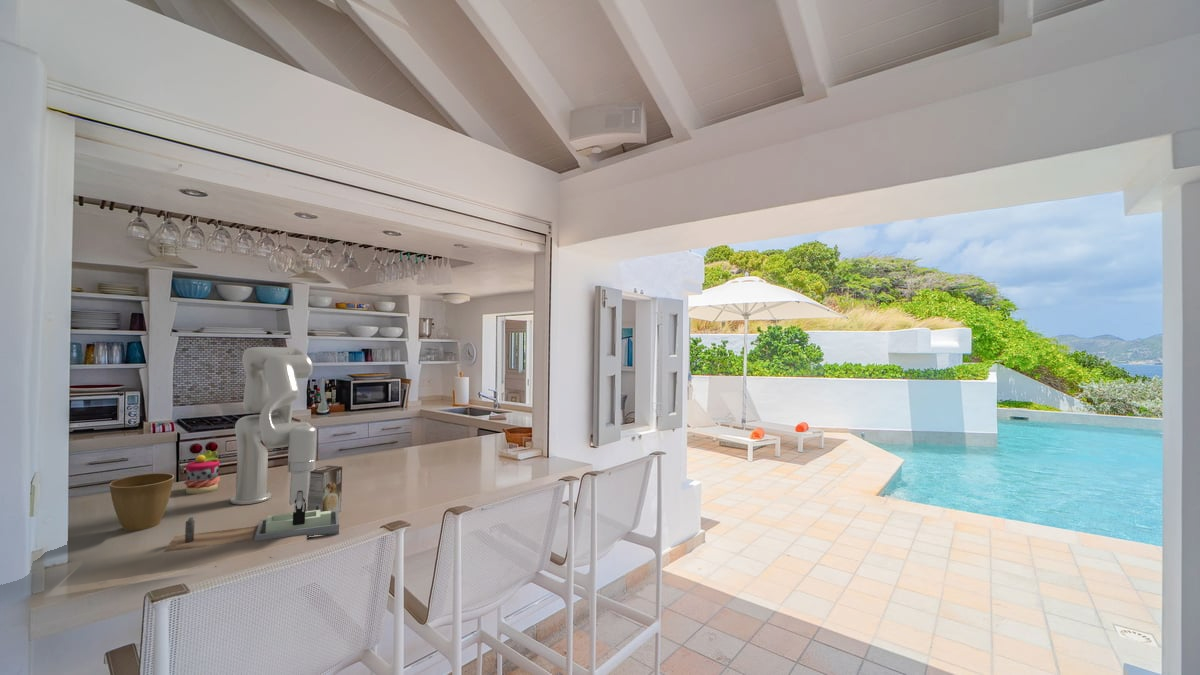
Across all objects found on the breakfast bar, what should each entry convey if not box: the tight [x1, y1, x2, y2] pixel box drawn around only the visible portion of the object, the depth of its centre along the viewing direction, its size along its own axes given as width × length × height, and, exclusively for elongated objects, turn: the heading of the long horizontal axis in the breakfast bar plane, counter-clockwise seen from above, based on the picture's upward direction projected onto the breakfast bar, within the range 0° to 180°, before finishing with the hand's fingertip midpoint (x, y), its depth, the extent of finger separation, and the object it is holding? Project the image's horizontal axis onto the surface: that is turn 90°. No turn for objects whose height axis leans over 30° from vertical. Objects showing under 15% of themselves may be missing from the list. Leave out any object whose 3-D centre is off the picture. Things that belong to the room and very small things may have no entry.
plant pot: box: [109, 472, 175, 532], centre depth 155 cm, size 15×15×16 cm
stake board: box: [163, 516, 257, 553], centre depth 148 cm, size 12×20×8 cm, turn 119°
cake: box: [183, 449, 221, 495], centre depth 196 cm, size 10×11×15 cm
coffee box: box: [306, 465, 343, 513], centre depth 174 cm, size 9×6×16 cm
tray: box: [254, 511, 340, 542], centre depth 158 cm, size 14×22×3 cm, turn 119°
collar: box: [265, 510, 331, 533], centre depth 158 cm, size 7×17×4 cm, turn 119°
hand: (299, 519), depth 159 cm, fingers open, 9 cm apart
